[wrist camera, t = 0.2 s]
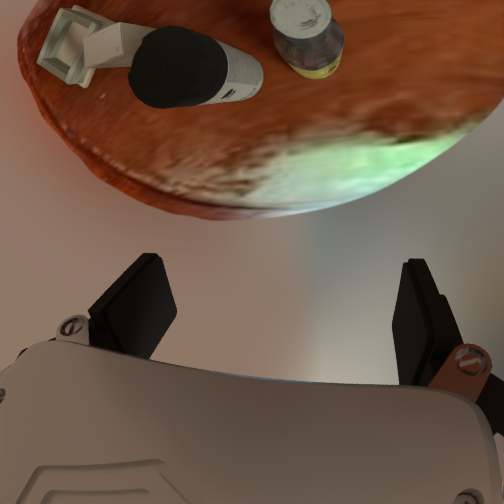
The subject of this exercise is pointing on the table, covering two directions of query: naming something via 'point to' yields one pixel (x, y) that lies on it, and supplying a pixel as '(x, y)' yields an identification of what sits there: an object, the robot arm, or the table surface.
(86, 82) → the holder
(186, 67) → the spray can
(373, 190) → the table surface
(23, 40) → the table surface
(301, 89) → the table surface
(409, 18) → the table surface
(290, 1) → the sauce bottle
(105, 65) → the skincare box
